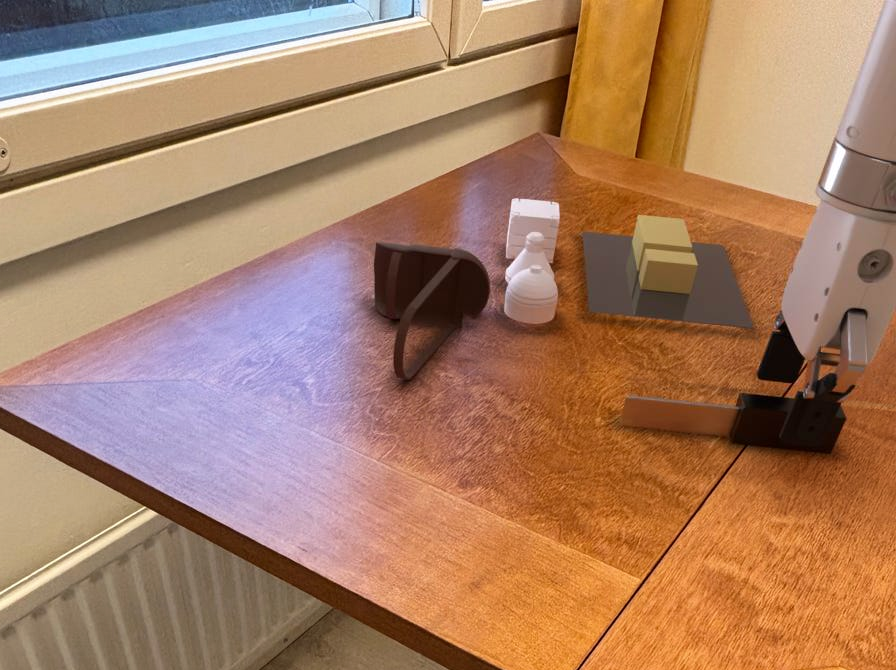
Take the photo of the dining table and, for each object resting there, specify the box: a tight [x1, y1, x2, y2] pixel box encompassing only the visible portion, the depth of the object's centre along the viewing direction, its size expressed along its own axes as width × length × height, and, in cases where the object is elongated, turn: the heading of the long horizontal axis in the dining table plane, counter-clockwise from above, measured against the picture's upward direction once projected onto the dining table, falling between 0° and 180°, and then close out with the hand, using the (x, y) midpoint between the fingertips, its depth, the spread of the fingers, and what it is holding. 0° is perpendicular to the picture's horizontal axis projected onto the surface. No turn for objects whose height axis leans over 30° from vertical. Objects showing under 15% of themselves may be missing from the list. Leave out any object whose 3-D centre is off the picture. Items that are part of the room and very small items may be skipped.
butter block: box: [632, 214, 692, 271], centre depth 95 cm, size 5×8×3 cm, turn 174°
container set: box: [503, 197, 561, 325], centre depth 89 cm, size 20×5×6 cm, turn 175°
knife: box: [619, 392, 848, 455], centre depth 72 cm, size 17×2×4 cm, turn 84°
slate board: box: [582, 230, 755, 330], centre depth 94 cm, size 16×21×1 cm
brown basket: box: [373, 241, 491, 381], centre depth 79 cm, size 18×12×7 cm, turn 170°
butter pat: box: [639, 249, 698, 294], centre depth 90 cm, size 5×3×3 cm, turn 84°
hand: (786, 410), depth 71 cm, fingers open, 9 cm apart
